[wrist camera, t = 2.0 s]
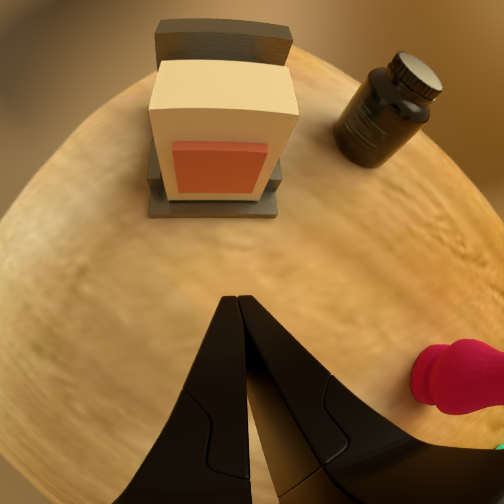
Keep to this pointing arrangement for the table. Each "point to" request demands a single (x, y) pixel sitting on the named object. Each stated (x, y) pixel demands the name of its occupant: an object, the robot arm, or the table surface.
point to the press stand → (229, 49)
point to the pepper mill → (459, 377)
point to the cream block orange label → (220, 126)
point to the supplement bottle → (387, 110)
